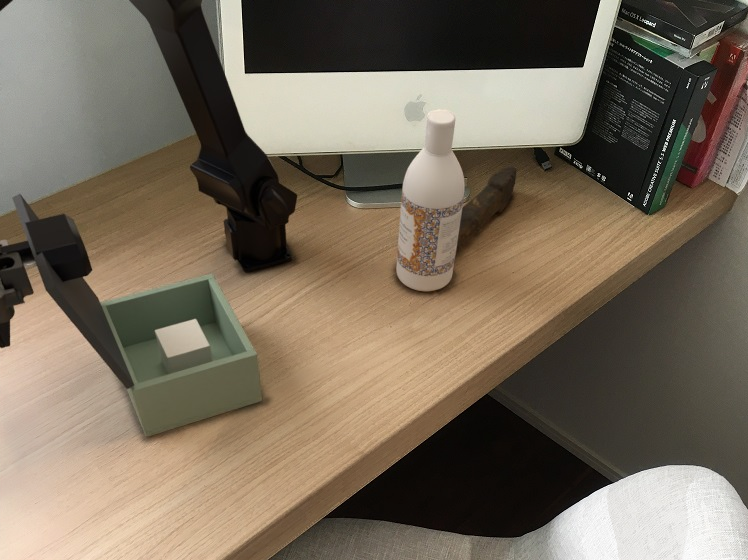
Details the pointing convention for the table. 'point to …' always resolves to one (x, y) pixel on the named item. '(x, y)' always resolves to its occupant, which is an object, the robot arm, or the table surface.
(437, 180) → the bath foam
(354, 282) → the table surface
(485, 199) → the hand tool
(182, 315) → the open box
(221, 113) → the robot arm
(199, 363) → the white block
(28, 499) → the table surface
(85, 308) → the box lid
